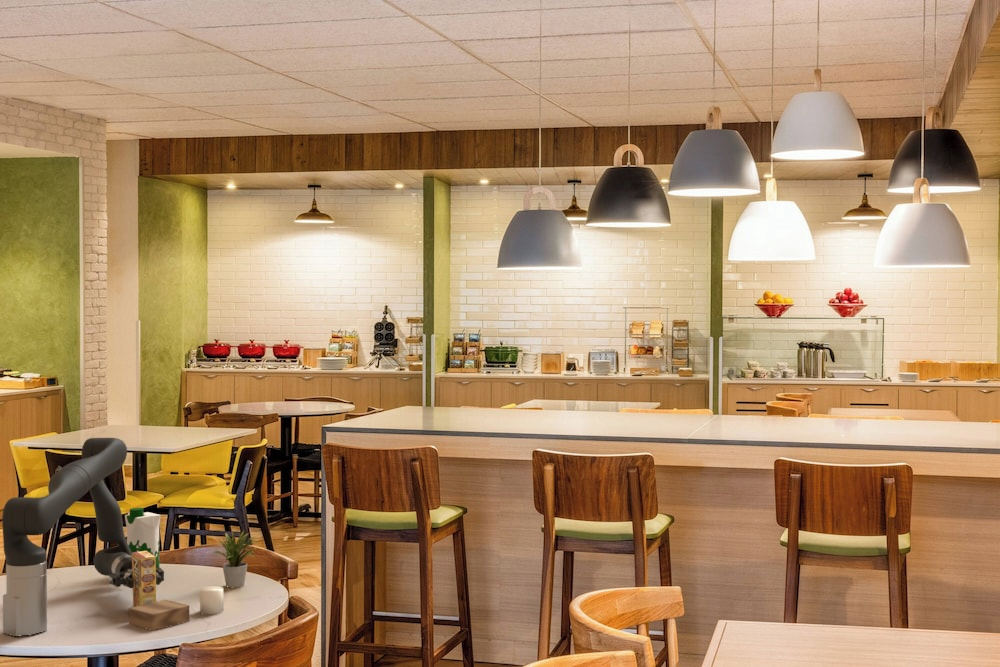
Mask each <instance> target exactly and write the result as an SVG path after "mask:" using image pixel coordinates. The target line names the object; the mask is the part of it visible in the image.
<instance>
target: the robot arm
mask: <svg viewBox="0 0 1000 667" xmlns="http://www.w3.org/2000/svg"><path fill="white" fill-rule="evenodd" d="M127 455H128V447H127V445H126V443H125V441H123V440H122V439H120V438H116V437H89V438H87V439H86V440H85V441H84V443H83V444H82V449H81V459H77V460H75V461H72V462H70V463H68V464H66V465H64V466H63V467H61V468H59V470H57V472H55V473H54V474H53V475H52V476H51V477H50V479H49V482H48V484H47V485H48V486H47V492H48V494H47V495H44V496H42V497H27V496H26V497H23V496H21V497H20V496H17V497H11V498H10V499H8V500H7V501H6V503H5V504H4V507H3V510H2V521H1V522H2V524H1V527H2V537H3V553H4V556H5V560H6V561H5V562H6V564H5V566H6V567H5V570H6V571H5V572H6V573H5V577H6V578H5V579H6V581H5V582H6V584H5V587H6V590H5V591H6V594H5V593H4V594H3V595H2V633H3V632H4V633H7V634H6V635H8V634H11V635H14V636H19V635H29V634H34V633H39V632H42V633H44V632H43V631H45V630H46V629H48V606H47V605H48V603H47V602H48V595H47V593H48V591H47V590H48V589H47V588H48V584H47V583H48V582H47V580H48V579H47V578H48V576H47V573H48V570H47V566H48V565H47V564H48V562H47V558H48V556H47V550H46V549H45V548H43V547H42V546H39V545H37V544H35V543H34V542H32V540H30V539H29V538H28V536H41V535H44V534H45V533H47V532H48V531H50V530H51V529H52V528H53V527H54V525H55V524H56V523H57V521H58V520H59V519H60V518H61V517H62V516H63V515H64V513H66V511H67V510H69V509H70V508H71V506H73V505H74V504H75V503H76V502H77V501H79V500H81V499H82V498H83V497H84V496H85V495H86V494H87V493H88V492H89V493H90V496H91V499H92V503H93V508H94V512H95V522H96V523H95V524H96V529H97V538H98V540H99V541H100V542H103V543H115V544H116V546H112V547H108V548H102V549H100V550H98V551H97V552H96V553H95V555H94V556H93V568H95V570H96V571H97V572H98V573H99V574H100V575H101V576H106V577H107V576H108V577H109V579H108V580H109V584H110V585H112V586H114V587H117V588H119V587H121V586H123V587H126V588H129V589H133V580H132V553H131V550H130V548H129V546H128V544H127V537H126V535H125V532H124V524H123V514H122V509H121V507H120V504H119V503H118V500H117V499H116V498H115V497H114V495H113V494H112V492H110V490H109V488H108V487H107V484H106V483H105V481H104V479H105V478H106V477H108V476H110V475H112V474H113V473H115V472H117V471H118V470H119V469H121V467H123V465H124V463H125V462H126V460H127V459H126V458H127ZM164 581H165V571H164V569H162V568H161V567H160V566H159V567H158V568H156V586H159V585H161V583H162V582H164ZM46 631H47V630H46ZM46 631H45V632H46ZM4 633H3V634H4ZM39 634H40V633H39ZM11 635H10V636H11ZM14 636H13V637H14ZM29 636H30V635H29Z"/></svg>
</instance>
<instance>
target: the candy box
mask: <svg viewBox="0 0 1000 667" xmlns="http://www.w3.org/2000/svg"><path fill="white" fill-rule="evenodd" d="M132 580H133V588H132V607H136V606H140V605H145V604H149V603H153V602H157V585H156V557H155V556H154V555H152V554H151V553H149V552H147V551H140V552H132Z"/></svg>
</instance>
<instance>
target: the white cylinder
mask: <svg viewBox="0 0 1000 667" xmlns="http://www.w3.org/2000/svg"><path fill="white" fill-rule="evenodd" d="M222 611H223V612H224V587H223V586H216V585H215V586H204V587H201V588H200V589H199V613H200V612H201V613H203V614H202V615H206V614H212V615H218V614H217V613H219V614H222V613H223V612H222ZM221 612H222V613H221ZM201 613H200V614H201Z"/></svg>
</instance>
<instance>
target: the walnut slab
mask: <svg viewBox="0 0 1000 667" xmlns="http://www.w3.org/2000/svg"><path fill="white" fill-rule="evenodd" d="M187 621H188V622H190V605H188V604H185V603H180V602H176V601H172V600H170V599H162V600H158V601H157V600H156V602H153V603H149V604H145V605H140V606H136V607H133V606H132V607H128V624H129V625H131V624H132V625H131V626H134V627H138V626H139V628H141V629H145V628H147V629H146V630H149V629H151V630H150V631H152V630H154V631H156V629H158V630H160V628H161V629H164V628H163V627H165V628H167V627H166V626H169V627H171V626H170V625H173V626H175V625H174V624H177V625H179V624H178V623H180V624H183V623H182V622H184V623H188V622H187Z"/></svg>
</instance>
